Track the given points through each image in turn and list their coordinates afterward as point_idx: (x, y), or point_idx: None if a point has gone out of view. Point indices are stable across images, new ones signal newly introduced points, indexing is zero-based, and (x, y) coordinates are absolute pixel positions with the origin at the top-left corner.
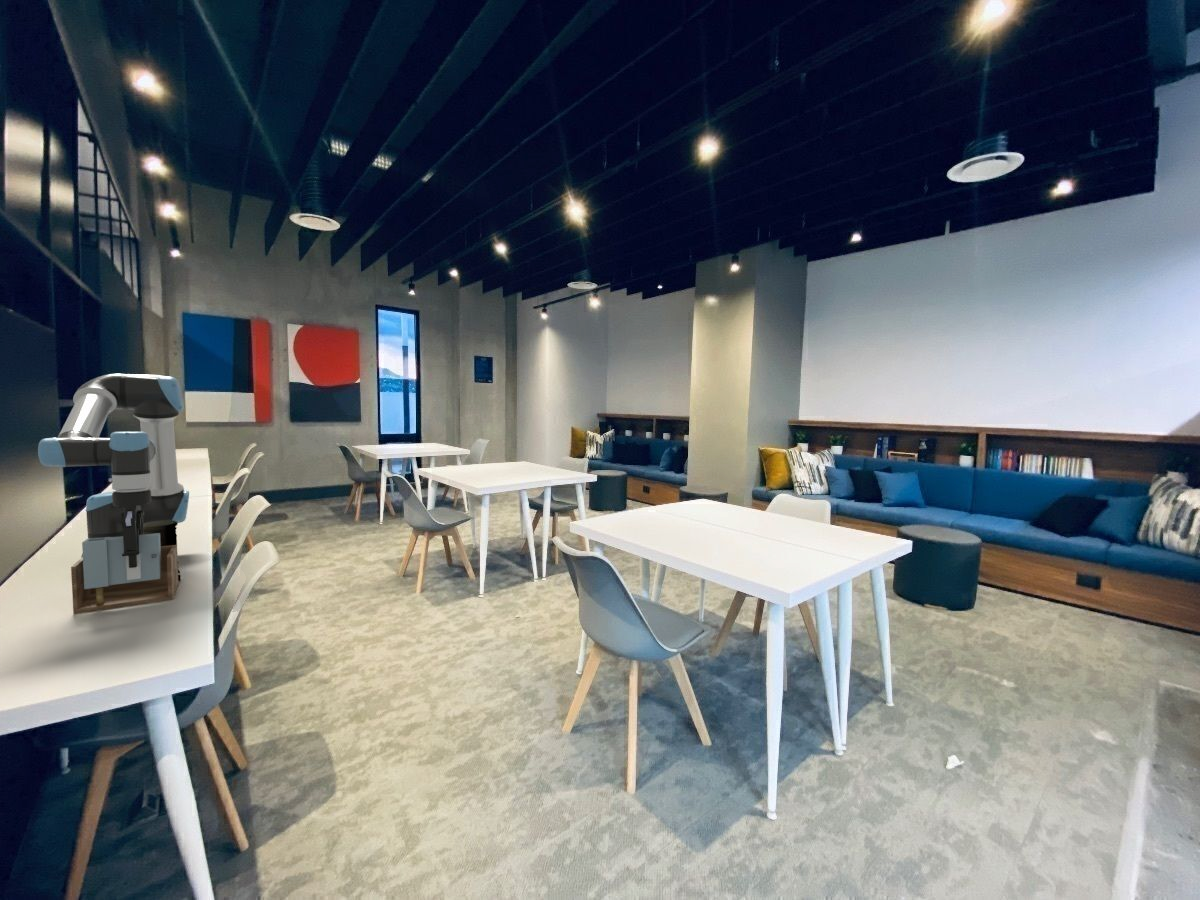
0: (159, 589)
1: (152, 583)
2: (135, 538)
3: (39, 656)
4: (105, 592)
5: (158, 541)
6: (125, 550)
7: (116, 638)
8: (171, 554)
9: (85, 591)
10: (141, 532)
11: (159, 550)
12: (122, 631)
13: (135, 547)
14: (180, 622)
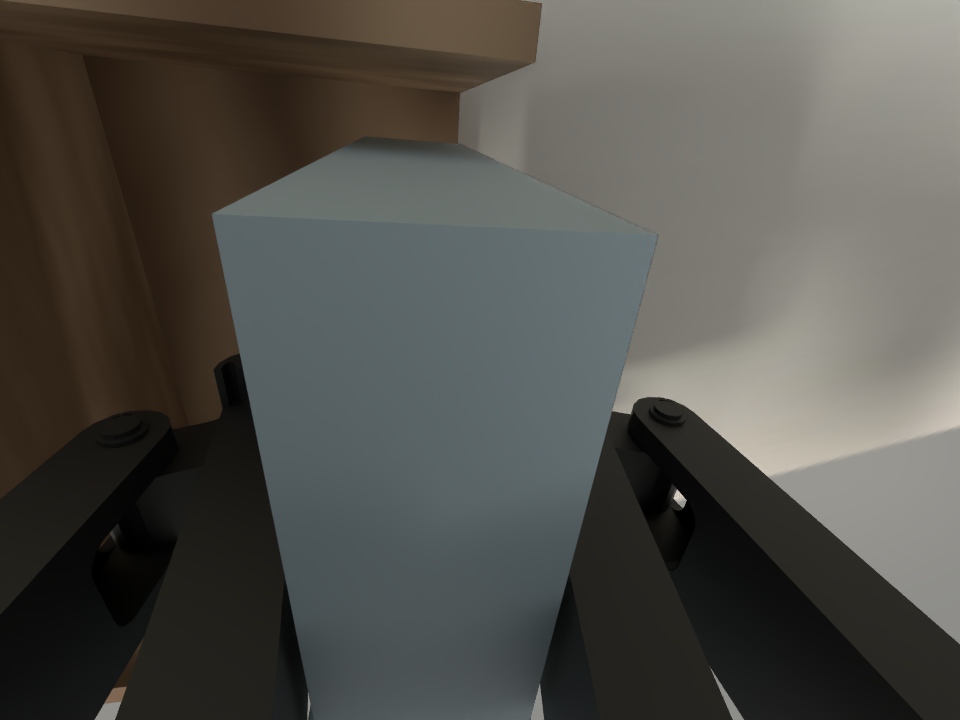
0: (251, 154)
1: (113, 207)
2: (897, 598)
3: (824, 423)
4: (191, 410)
5: (571, 200)
6: (683, 523)
7: (868, 265)
8: None
9: None
10: (158, 680)
11: (467, 166)
12: (809, 257)
13: (740, 467)
14: (921, 24)
